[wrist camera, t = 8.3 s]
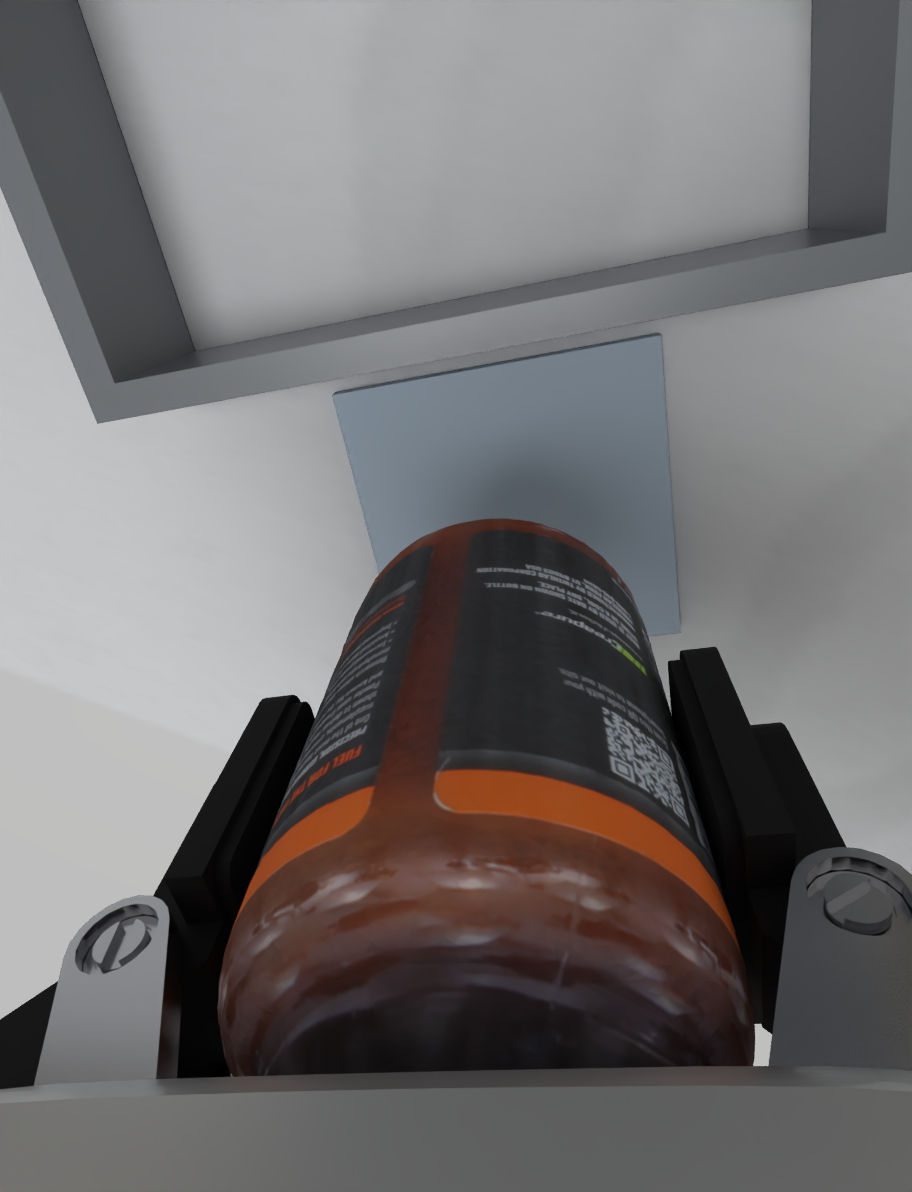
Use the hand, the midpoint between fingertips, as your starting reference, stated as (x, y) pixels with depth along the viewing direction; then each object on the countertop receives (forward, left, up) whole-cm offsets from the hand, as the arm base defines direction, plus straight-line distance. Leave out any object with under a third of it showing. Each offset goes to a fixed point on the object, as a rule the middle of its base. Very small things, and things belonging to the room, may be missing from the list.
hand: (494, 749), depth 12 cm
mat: (0, 0, -11) cm, 11 cm away
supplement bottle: (0, 0, -4) cm, 4 cm away
